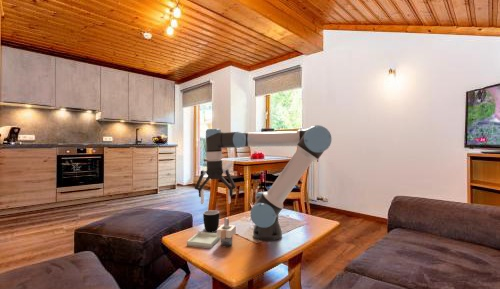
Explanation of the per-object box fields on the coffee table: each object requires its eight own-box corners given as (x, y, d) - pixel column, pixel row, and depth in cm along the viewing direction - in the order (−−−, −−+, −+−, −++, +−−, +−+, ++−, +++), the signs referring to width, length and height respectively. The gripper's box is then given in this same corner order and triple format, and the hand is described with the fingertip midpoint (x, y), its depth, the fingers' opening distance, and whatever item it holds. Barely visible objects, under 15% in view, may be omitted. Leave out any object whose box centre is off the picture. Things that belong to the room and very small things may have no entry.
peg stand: (234, 242, 122) (233, 216, 122) (230, 247, 117) (229, 220, 116) (223, 241, 123) (223, 215, 123) (219, 246, 118) (218, 219, 118)
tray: (221, 238, 128) (221, 233, 128) (210, 248, 116) (210, 243, 116) (199, 235, 131) (198, 231, 131) (186, 245, 119) (186, 241, 119)
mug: (221, 231, 137) (221, 213, 136) (205, 234, 133) (204, 215, 133) (216, 224, 148) (216, 208, 148) (201, 226, 145) (201, 209, 144)
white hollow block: (222, 231, 124) (222, 224, 124) (235, 232, 122) (235, 225, 122) (215, 237, 116) (215, 230, 116) (229, 239, 114) (229, 231, 114)
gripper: (240, 158, 124) (242, 201, 124) (192, 160, 126) (193, 201, 127) (238, 160, 116) (240, 204, 117) (187, 161, 119) (188, 205, 119)
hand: (216, 203), depth 122 cm, fingers open, 13 cm apart
